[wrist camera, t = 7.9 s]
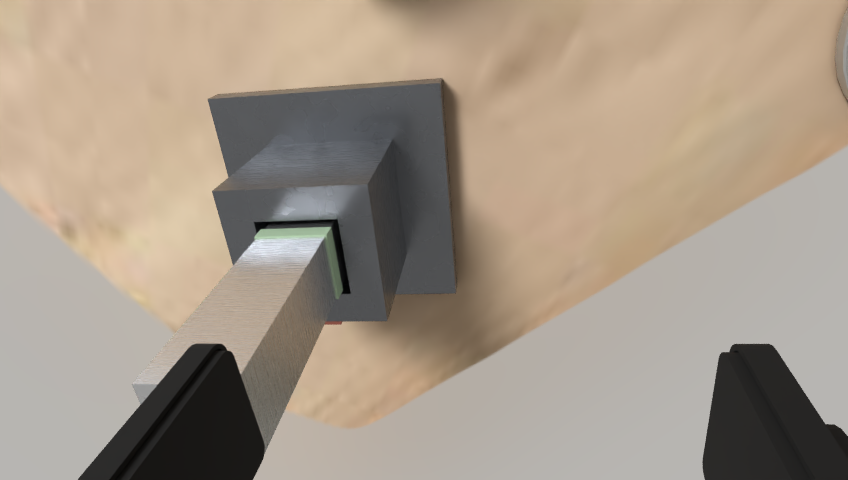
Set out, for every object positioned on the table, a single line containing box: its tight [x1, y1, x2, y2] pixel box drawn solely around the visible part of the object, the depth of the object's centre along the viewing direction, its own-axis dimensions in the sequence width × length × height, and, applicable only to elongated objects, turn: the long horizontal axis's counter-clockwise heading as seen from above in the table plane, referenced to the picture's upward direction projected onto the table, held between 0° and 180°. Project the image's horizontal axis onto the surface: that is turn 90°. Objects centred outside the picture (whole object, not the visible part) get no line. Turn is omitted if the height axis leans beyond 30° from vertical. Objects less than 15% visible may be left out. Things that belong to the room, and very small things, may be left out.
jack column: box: [132, 219, 347, 454], centre depth 27 cm, size 4×4×16 cm
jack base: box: [208, 78, 457, 324], centre depth 36 cm, size 16×16×10 cm
